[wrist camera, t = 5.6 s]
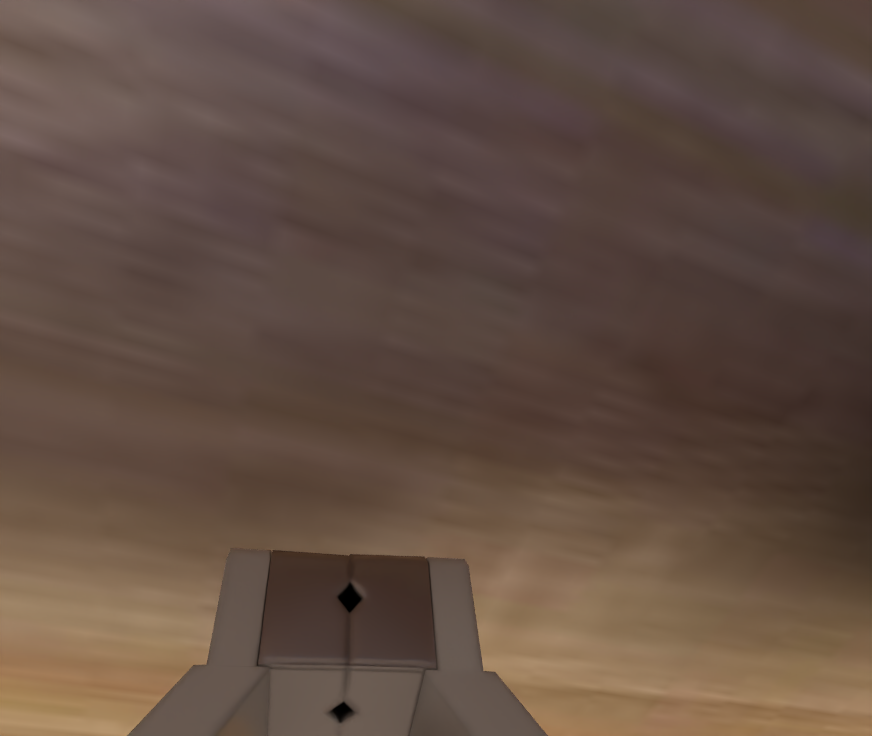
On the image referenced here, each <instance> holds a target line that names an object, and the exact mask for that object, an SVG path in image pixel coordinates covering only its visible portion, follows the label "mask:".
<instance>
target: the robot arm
mask: <svg viewBox="0 0 872 736" xmlns="http://www.w3.org/2000/svg"><path fill="white" fill-rule="evenodd" d="M128 736H548V735H547V734H546V733H545V732H544V731H543V729H542V728H541V727H540V726H539V724H538V723H537V722H536V721H535V720H534V718H533V717H532V716H531V715H530V714H529V712H528V711H527V710H526V709H525V708H524V706H523V705H522V704H521V703H520V701H519V700H518V699H517V698H516V697H515V695H514V694H513V693H512V692H511V691H510V689H509V688H508V687H507V686H506V685H505V683H504V682H503V681H502V680H501V678H500V677H499V676H498V675H497V674H496V672H489V671H483V664H482V657H481V650H480V643H479V636H478V629H477V622H476V615H475V608H474V601H473V594H472V587H471V580H470V573H469V566H468V564H467V562H466V561H465V559H455V558H432V557H427V558H425V557H423V556H391V555H360V554H350V555H336V554H322V553H308V552H293V551H279V550H258V549H242V548H231V549H230V552H229V554H228V557H227V559H226V564H225V570H224V575H223V580H222V585H221V591H220V596H219V601H218V607H217V612H216V617H215V623H214V628H213V633H212V639H211V644H210V649H209V655H208V660H207V665H193V666H192V667H191V668H190V669H189V671H188V672H187V673H186V674H185V675H184V676H183V677H182V678H181V679H180V680H179V681H178V682H177V683H176V684H175V685H174V687H173V688H172V689H171V690H170V691H169V692H168V693H167V694H166V695H165V696H164V697H163V698H162V699H161V700H160V701H159V703H158V704H157V705H156V706H155V707H154V708H153V709H152V710H151V711H150V712H149V713H148V714H147V715H146V716H145V717H144V718H143V720H142V721H141V722H140V723H139V724H138V725H137V726H136V727H135V728H134V729H133V730H132V731H131V732H130V733H129V734H128Z"/></svg>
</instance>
